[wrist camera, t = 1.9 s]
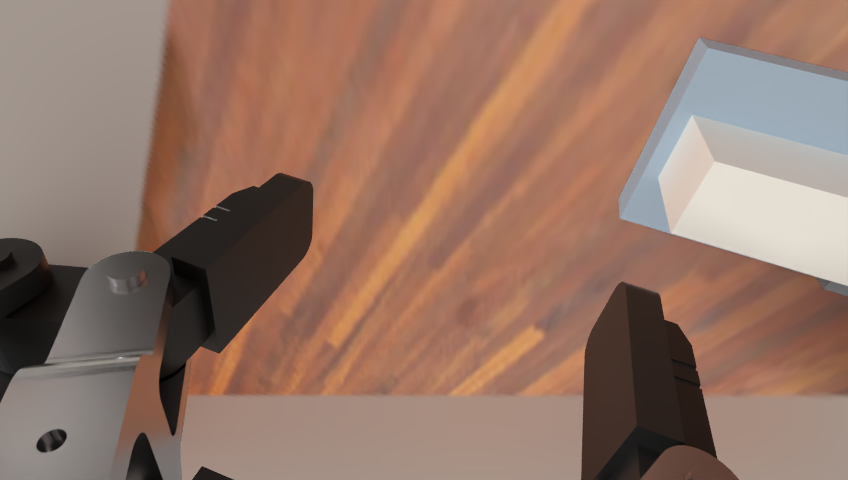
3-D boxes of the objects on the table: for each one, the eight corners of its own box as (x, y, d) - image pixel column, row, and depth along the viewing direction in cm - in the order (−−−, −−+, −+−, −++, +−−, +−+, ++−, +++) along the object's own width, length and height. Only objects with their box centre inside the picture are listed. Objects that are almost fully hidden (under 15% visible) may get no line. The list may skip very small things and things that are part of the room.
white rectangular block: (692, 114, 28) (714, 161, 23) (867, 160, 27) (936, 222, 21) (657, 177, 31) (670, 232, 26) (815, 222, 30) (865, 291, 24)
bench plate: (699, 37, 29) (707, 47, 26) (948, 96, 27) (981, 113, 24) (618, 198, 36) (619, 218, 34) (809, 254, 34) (825, 279, 32)
